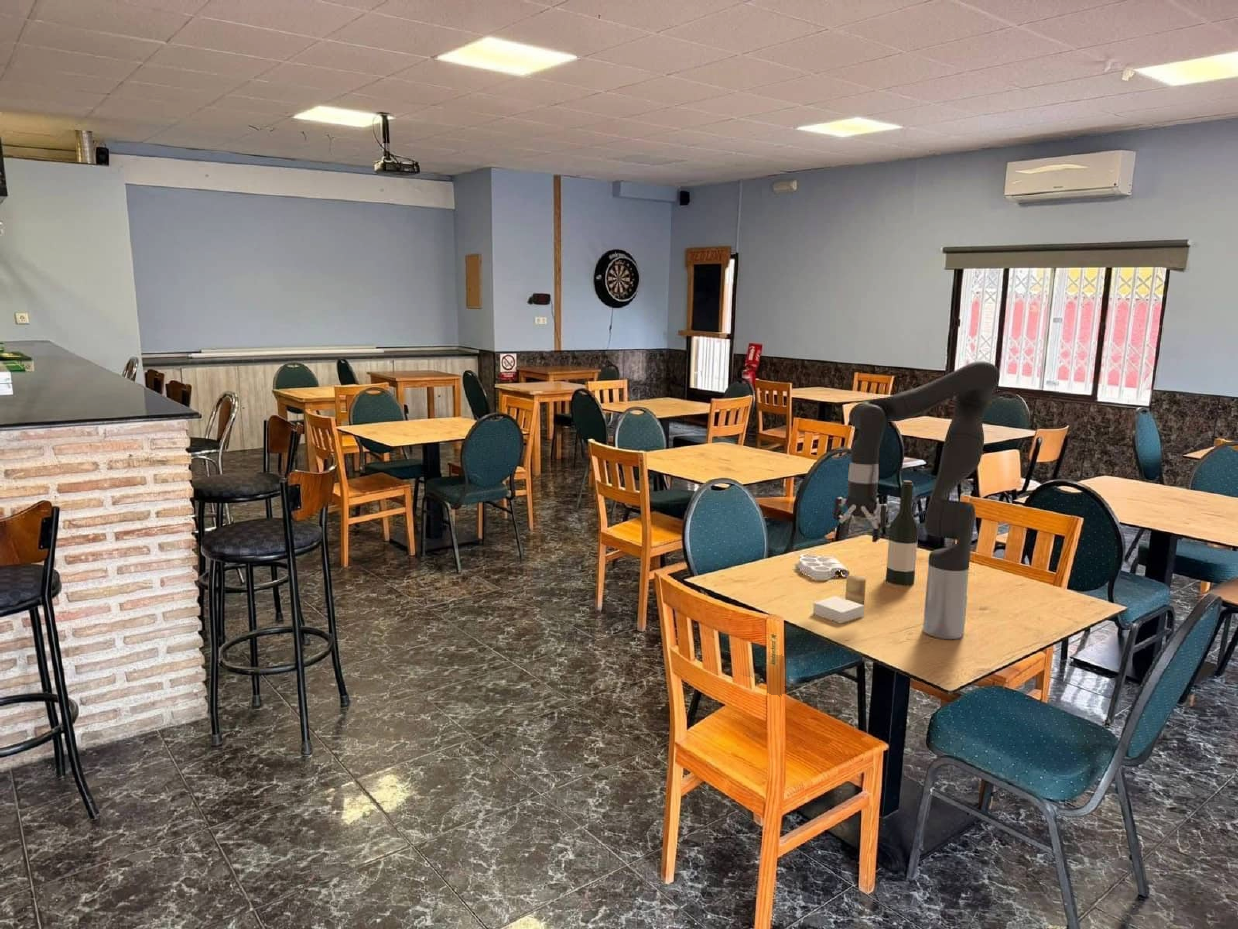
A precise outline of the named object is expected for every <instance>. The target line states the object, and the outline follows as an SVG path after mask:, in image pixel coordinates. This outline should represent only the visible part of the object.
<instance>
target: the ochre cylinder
mask: <svg viewBox="0 0 1238 929" xmlns="http://www.w3.org/2000/svg"><path fill="white" fill-rule="evenodd" d="M866 585H867V579H866V578H865V577H863V576H859V575H849V576H847V577H846V583H845V598H844V599H847V600H850V601H852V602H855V603H858V604H861V605H864V606H865V598H866Z"/></svg>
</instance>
